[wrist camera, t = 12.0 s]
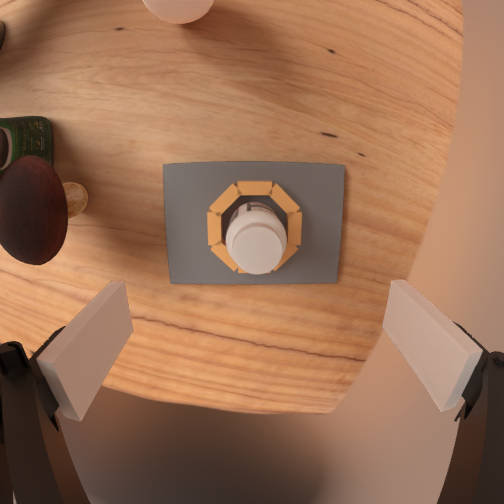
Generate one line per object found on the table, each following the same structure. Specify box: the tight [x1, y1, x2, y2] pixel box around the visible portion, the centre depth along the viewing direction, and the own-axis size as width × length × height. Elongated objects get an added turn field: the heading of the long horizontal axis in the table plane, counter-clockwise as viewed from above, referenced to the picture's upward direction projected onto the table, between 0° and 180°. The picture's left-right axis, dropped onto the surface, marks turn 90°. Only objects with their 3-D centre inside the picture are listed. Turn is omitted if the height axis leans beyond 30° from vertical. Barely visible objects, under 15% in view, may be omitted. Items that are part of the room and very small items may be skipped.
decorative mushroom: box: [0, 155, 88, 265], centre depth 24 cm, size 11×11×15 cm
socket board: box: [163, 161, 345, 284], centre depth 32 cm, size 14×20×3 cm
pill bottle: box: [226, 202, 287, 275], centre depth 27 cm, size 5×5×10 cm
